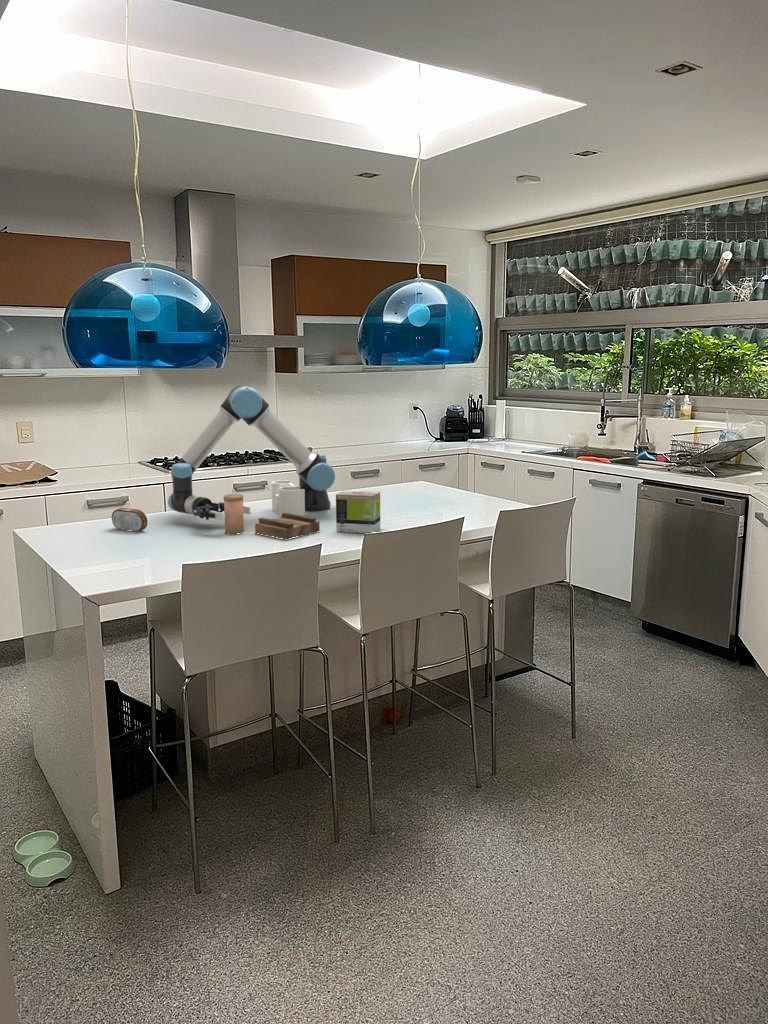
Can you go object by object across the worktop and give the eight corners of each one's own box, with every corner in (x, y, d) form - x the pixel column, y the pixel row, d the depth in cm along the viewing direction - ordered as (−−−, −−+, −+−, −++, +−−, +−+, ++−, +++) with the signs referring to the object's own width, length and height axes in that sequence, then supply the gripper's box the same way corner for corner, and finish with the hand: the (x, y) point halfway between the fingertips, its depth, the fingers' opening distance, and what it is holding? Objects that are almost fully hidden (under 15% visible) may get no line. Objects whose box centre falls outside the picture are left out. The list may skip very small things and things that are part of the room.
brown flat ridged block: (289, 525, 312) (288, 511, 311) (319, 531, 303) (319, 517, 302) (255, 533, 298) (254, 519, 297) (285, 540, 289) (285, 525, 288)
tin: (148, 531, 302) (147, 509, 300) (143, 533, 299) (141, 511, 297) (116, 528, 307) (115, 506, 305) (110, 529, 304) (109, 508, 302)
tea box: (380, 528, 308) (381, 491, 305) (373, 534, 299) (373, 495, 296) (343, 526, 312) (343, 489, 309) (335, 532, 303) (335, 493, 299)
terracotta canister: (235, 529, 306) (234, 493, 303) (248, 532, 302) (247, 495, 299) (220, 532, 300) (219, 496, 297) (233, 535, 296) (232, 498, 293)
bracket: (268, 508, 344) (267, 481, 341) (290, 507, 347) (290, 479, 345) (282, 520, 321) (281, 491, 319) (306, 519, 325) (305, 489, 322)
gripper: (224, 510, 321) (260, 517, 309) (173, 521, 302) (210, 529, 289) (223, 492, 320) (260, 498, 307) (172, 501, 301) (209, 509, 288)
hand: (236, 513), depth 298 cm, fingers open, 13 cm apart
